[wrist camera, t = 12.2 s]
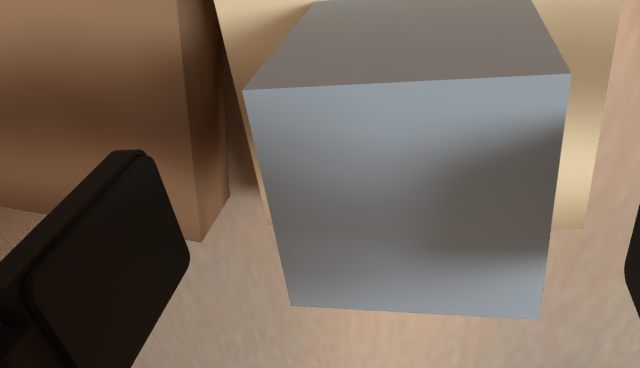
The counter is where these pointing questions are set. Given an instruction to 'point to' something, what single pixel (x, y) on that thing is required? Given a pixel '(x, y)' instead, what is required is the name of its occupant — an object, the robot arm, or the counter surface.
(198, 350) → the counter surface
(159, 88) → the walnut plinth
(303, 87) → the grey block
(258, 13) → the maple plinth
